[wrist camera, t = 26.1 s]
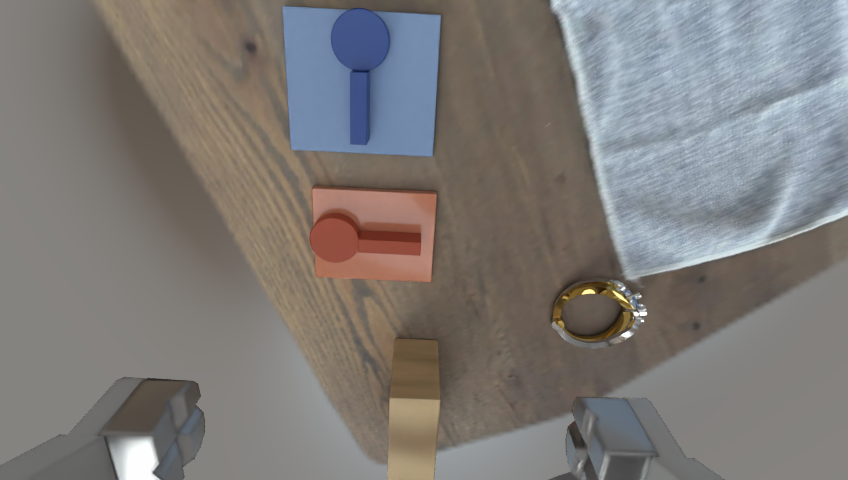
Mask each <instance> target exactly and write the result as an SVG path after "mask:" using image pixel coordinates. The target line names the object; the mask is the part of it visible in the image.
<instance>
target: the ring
mask: <svg viewBox="0 0 848 480" xmlns="http://www.w3.org/2000/svg"><path fill="white" fill-rule="evenodd" d="M618 290H619V291H618ZM620 291H621V292H623V293H624V294H625V295H626V296H627V297H626V296H625V295H624V294H623V293H621V292H620ZM587 293H595V294H601V295H605V296H607V297H610V298H612V299H614V300H615V301H617V302H618V303H619V304H621V305H622V306H623V307H624V308H623V310H622V313H621V315H620V317H619V319H618V320H617V322H616V323H615V324H614V325H613V326H612V327H611V328H610V329H609V330H607V331H606V332H604V333H602V334H599V335H596V336H590V337H584V336H578V335H575V334H573V333H571V332H569V331H568V330H567V329H566V328H565V327H564V321H563V317H562V316H561V310H562V308H563V306H564V305H565V304H566V303H567V302H568V301H569V300H570V299H572V298H574V297H576V296H578V295H582V294H587ZM639 298H641V294H640V293H639V291H638V292H635V293H631V291H630V289H629V288H628V287H627V286H626V285H625V284H623V283H622V282H619V281H617V280H612V279H588V280H583V281H580V282H577V283H575V284H573V285H571V286H570V287H568V288H567V289H565V290H564V291H563V292H562V293H561V294H560V295H559V296H558V298H557V299H556V301H555V303H554V306H553V317H552V318H551V322H552V327H553V329H555V330H557V332H558V333H559V335H560V336H561V337H562V338H563V339H565V340H566V341H567V342H569V343H571V344H573V345H576V346H579V347H583V348H593V349H595V348H604V347H608V346H612V345H615V344H617V343H619V342H622V341H624V340H626V339H627V338H629V337H630V336H632V335H633V334H634V333H635V332H636V331H637V330H638V328H639V326H640V324H641V322H644V319H643V317H641V315H647V312H646V311H645V310H646V306H643V303H638V302H637V299H639ZM639 306H641V307H639ZM630 316H631V318H630ZM629 319H630V321H631V323H630V324H629V325H628V326H627V327H626V325H627V324H628V322H629ZM625 327H626V328H625ZM624 328H625V329H624Z"/></svg>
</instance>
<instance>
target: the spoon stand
mask: <svg viewBox="0 0 848 480" xmlns="http://www.w3.org/2000/svg"><path fill="white" fill-rule="evenodd" d="M439 412H440V378H439V356H438V340H421V339H397V338H396V339H395V346H394V357H393V368H392V378H391V389H390V402H389V438H388V475H387V476H388V477H387V479H388V480H434V473H435V460H436V449H437V437H438V425H439Z"/></svg>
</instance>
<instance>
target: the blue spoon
mask: <svg viewBox="0 0 848 480" xmlns="http://www.w3.org/2000/svg"><path fill="white" fill-rule="evenodd" d="M331 44H332V48H333V51H334V53H335V55H336V57H337V58H338V60H339V61H340V62H341V63H342V64H343V65H344V66H346V67H347V68H349V69H352V70H353V71H351V72H350V144H352V145H367V143H368V141H369V139H370V71H369V70H372V69H374V68H376V67H377V66H379V65H380V64H381V63H382V62H383V61H384V60H385V58H386V56H387V54H388V52H389V48H390V34H389V30H388V28H387V26H386V24H385V22H384V21H383V20H382V19H381V18H380V17H379V16H378V15H377V14H375V13H374V12H372V11H370V10H367V9H363V8H354V9H350V10H348V11H346V12H344V13H343V14H341V15H340V16H339V17H338V19H337V20H336V21H335V23H334V25H333V28H332V32H331Z"/></svg>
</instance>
